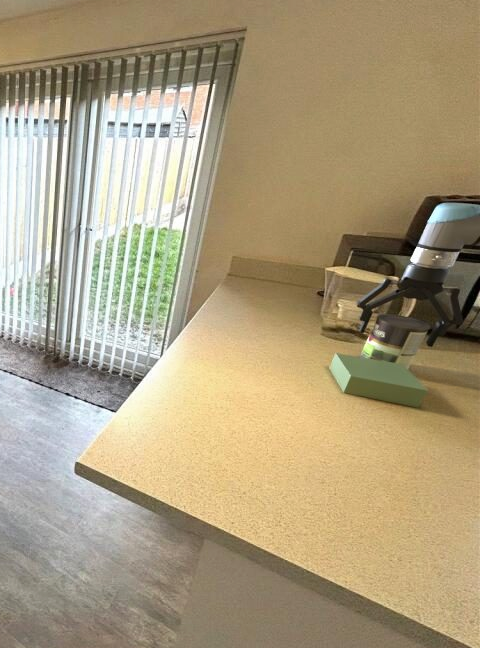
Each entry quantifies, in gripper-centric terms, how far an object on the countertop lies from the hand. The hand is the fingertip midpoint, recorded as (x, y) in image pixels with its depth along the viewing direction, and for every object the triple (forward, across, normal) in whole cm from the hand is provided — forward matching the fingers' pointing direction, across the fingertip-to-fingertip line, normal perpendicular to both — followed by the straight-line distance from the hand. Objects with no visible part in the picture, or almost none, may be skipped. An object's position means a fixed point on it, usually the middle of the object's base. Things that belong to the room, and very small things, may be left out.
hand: (393, 338), depth 110 cm
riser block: (+9, -4, -17) cm, 19 cm away
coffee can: (+9, 0, 0) cm, 9 cm away
